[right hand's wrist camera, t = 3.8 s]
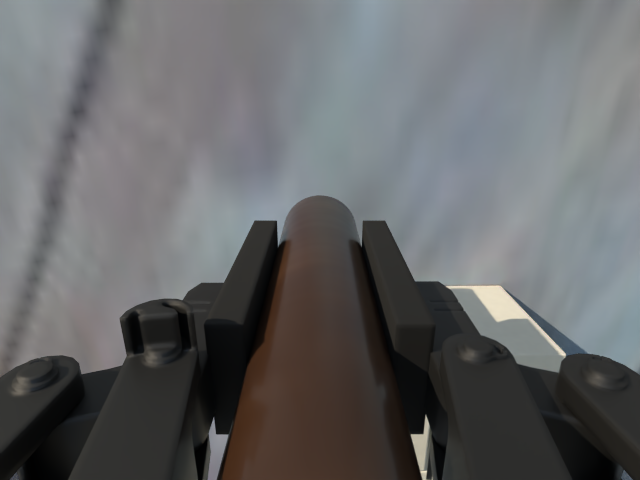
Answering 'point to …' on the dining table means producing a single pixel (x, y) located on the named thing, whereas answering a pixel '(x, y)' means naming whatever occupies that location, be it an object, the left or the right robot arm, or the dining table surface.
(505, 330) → the peg block
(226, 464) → the walnut peg
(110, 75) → the dining table surface
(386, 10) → the dining table surface
